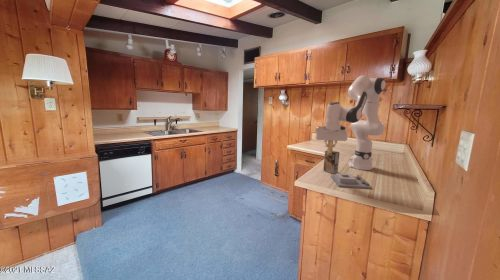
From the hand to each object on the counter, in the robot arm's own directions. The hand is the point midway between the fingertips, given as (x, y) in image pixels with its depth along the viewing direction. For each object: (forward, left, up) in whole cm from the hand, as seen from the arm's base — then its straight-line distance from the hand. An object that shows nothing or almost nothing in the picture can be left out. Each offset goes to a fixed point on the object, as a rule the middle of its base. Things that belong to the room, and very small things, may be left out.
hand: (330, 146), depth 142 cm
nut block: (+5, +13, -23) cm, 27 cm away
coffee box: (-16, +6, -23) cm, 29 cm away
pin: (0, 0, -6) cm, 6 cm away
